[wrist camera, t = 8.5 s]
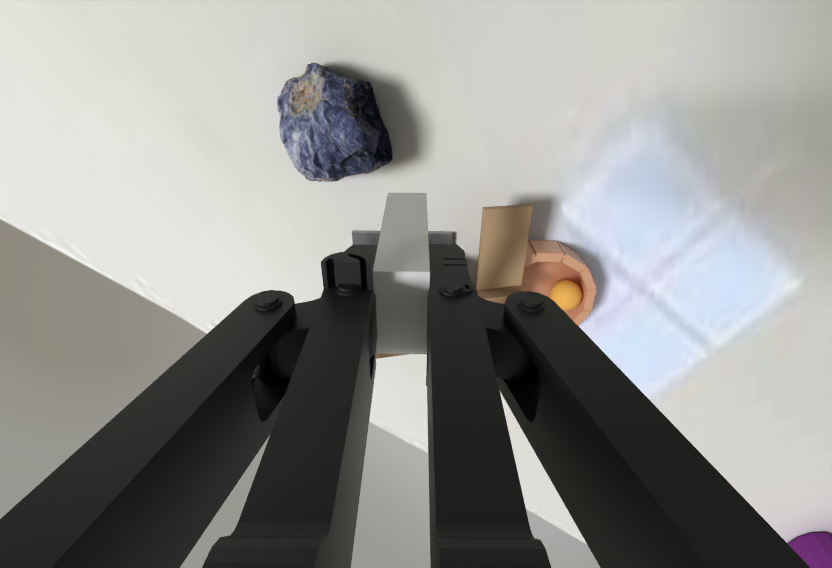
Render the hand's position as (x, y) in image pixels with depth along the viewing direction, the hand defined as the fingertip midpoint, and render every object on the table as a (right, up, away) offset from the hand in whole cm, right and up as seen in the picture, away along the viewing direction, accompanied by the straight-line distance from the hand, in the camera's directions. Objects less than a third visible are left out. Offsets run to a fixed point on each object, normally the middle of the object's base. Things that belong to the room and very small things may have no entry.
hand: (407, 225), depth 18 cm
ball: (+18, -4, +34) cm, 39 cm away
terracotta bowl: (+15, -2, +36) cm, 39 cm away
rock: (-8, +14, +27) cm, 32 cm away
